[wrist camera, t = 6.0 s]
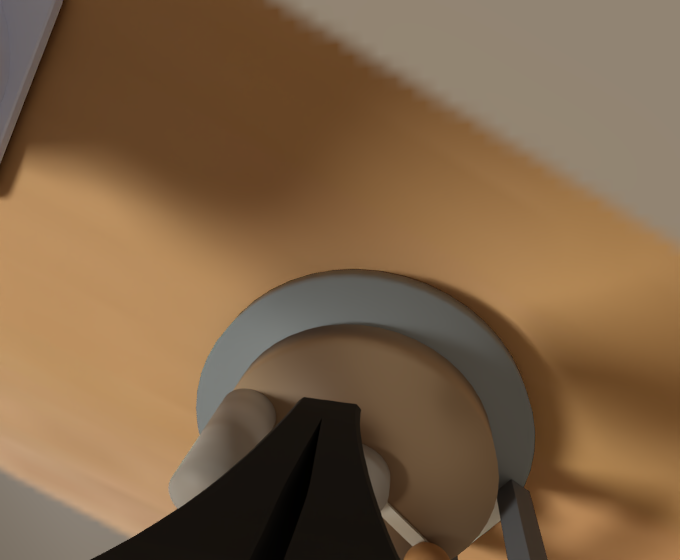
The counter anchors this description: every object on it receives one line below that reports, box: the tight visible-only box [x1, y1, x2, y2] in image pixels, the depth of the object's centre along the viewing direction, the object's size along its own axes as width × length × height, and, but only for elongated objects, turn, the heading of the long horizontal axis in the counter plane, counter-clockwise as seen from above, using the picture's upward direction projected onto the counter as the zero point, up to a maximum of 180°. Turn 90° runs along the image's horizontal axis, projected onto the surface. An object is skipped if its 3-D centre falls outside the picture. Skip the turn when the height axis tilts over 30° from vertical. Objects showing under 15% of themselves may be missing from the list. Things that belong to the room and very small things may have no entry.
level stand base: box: [196, 269, 548, 560], centre depth 16 cm, size 12×12×6 cm
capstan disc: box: [169, 324, 499, 560], centre depth 15 cm, size 9×9×5 cm
